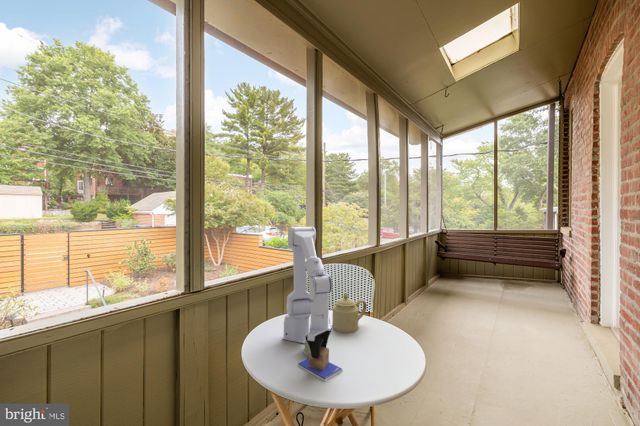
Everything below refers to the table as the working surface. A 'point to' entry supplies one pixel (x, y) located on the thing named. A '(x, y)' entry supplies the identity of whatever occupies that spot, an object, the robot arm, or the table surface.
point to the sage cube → (307, 348)
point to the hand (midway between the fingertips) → (318, 353)
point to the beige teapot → (347, 314)
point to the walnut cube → (320, 359)
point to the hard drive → (322, 374)
